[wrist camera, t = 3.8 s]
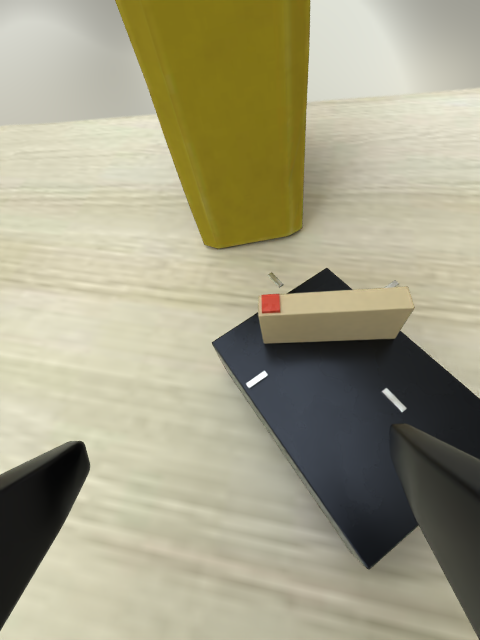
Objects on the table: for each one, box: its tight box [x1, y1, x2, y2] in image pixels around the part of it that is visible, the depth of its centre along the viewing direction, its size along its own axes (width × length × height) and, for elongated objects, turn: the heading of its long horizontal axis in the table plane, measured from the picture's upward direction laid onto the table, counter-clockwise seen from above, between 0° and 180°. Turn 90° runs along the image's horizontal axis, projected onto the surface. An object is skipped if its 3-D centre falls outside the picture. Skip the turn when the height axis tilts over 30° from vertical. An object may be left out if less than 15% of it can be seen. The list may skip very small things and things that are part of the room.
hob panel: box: [212, 268, 480, 569], centre depth 20 cm, size 16×12×5 cm
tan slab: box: [258, 286, 414, 344], centre depth 17 cm, size 8×1×4 cm, turn 88°
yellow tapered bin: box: [115, 0, 310, 249], centre depth 22 cm, size 20×11×30 cm, turn 3°
